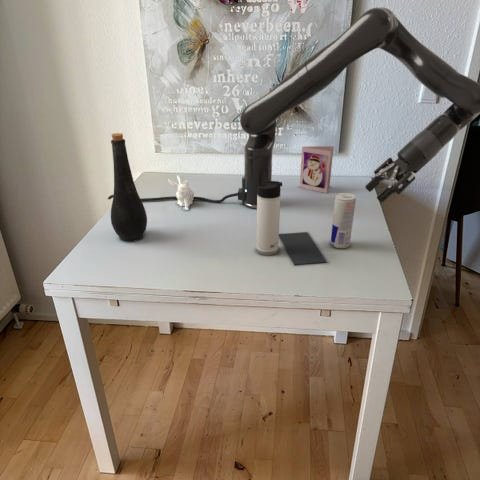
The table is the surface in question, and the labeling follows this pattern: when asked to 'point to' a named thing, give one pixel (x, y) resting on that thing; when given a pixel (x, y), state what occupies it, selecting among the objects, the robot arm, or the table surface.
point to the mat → (301, 248)
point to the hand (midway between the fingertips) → (372, 194)
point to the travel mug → (268, 217)
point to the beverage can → (342, 220)
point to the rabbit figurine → (183, 193)
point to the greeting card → (316, 168)
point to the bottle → (125, 196)
